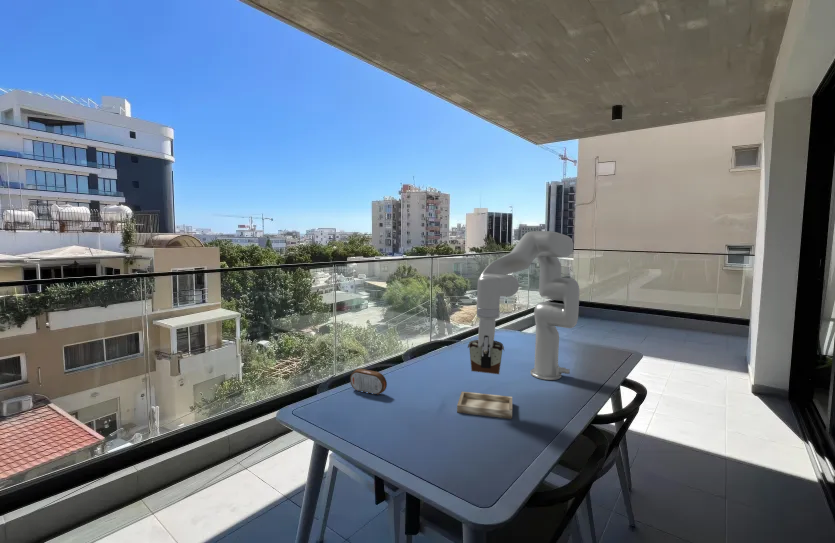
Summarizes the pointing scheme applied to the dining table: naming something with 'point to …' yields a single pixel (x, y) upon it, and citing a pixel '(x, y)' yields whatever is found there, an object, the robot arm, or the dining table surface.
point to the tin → (368, 381)
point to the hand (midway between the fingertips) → (486, 364)
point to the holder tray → (485, 405)
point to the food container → (477, 353)
